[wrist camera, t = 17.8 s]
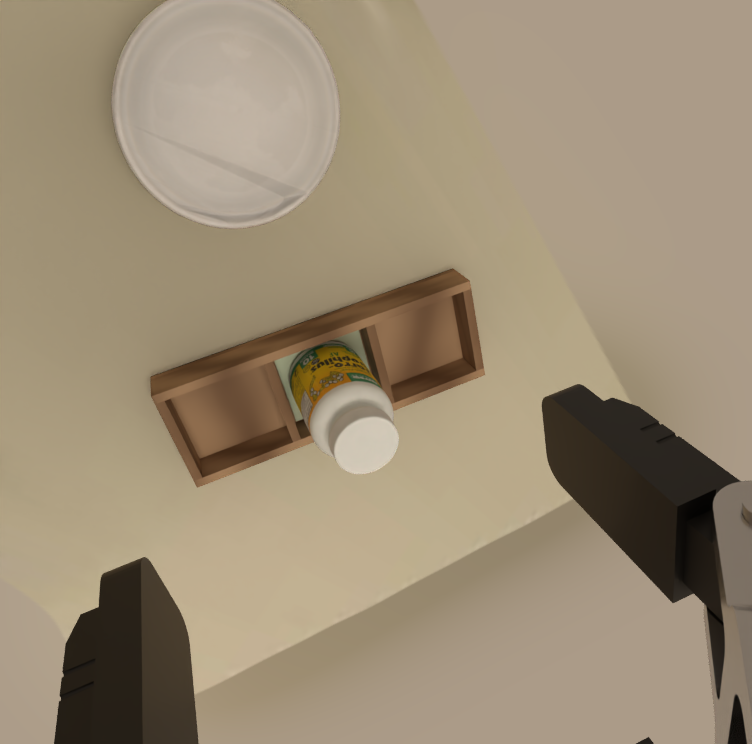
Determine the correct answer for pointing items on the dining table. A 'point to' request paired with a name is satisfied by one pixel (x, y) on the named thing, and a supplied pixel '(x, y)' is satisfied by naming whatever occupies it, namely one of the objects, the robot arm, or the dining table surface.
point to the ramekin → (226, 110)
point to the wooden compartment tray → (279, 351)
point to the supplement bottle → (344, 407)
